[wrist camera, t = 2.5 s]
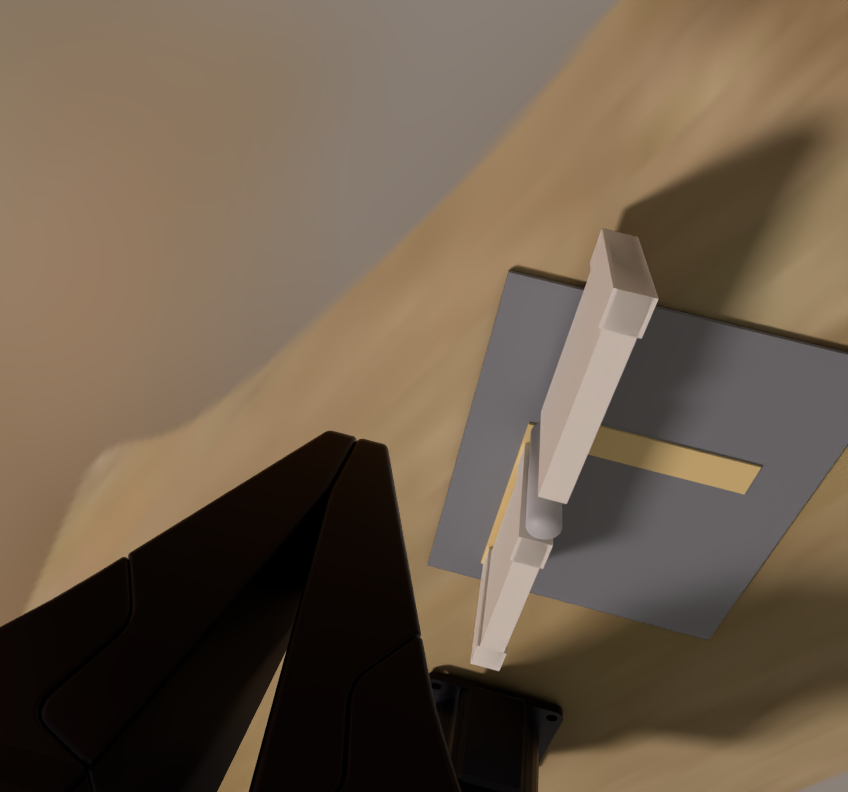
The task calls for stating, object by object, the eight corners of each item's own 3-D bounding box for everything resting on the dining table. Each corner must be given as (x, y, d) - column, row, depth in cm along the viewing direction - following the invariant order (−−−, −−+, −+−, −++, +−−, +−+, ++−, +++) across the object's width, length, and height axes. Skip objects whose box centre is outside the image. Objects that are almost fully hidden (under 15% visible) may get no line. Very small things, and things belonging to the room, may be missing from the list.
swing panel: (556, 449, 21) (556, 543, 18) (527, 441, 22) (521, 534, 18) (638, 236, 17) (659, 302, 14) (601, 228, 17) (614, 291, 14)
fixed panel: (507, 570, 25) (499, 671, 22) (483, 564, 25) (470, 663, 22) (553, 450, 22) (553, 545, 18) (525, 443, 22) (518, 536, 18)
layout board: (707, 636, 26) (709, 642, 25) (428, 561, 26) (427, 567, 26) (898, 364, 19) (903, 369, 18) (509, 269, 19) (508, 273, 19)
